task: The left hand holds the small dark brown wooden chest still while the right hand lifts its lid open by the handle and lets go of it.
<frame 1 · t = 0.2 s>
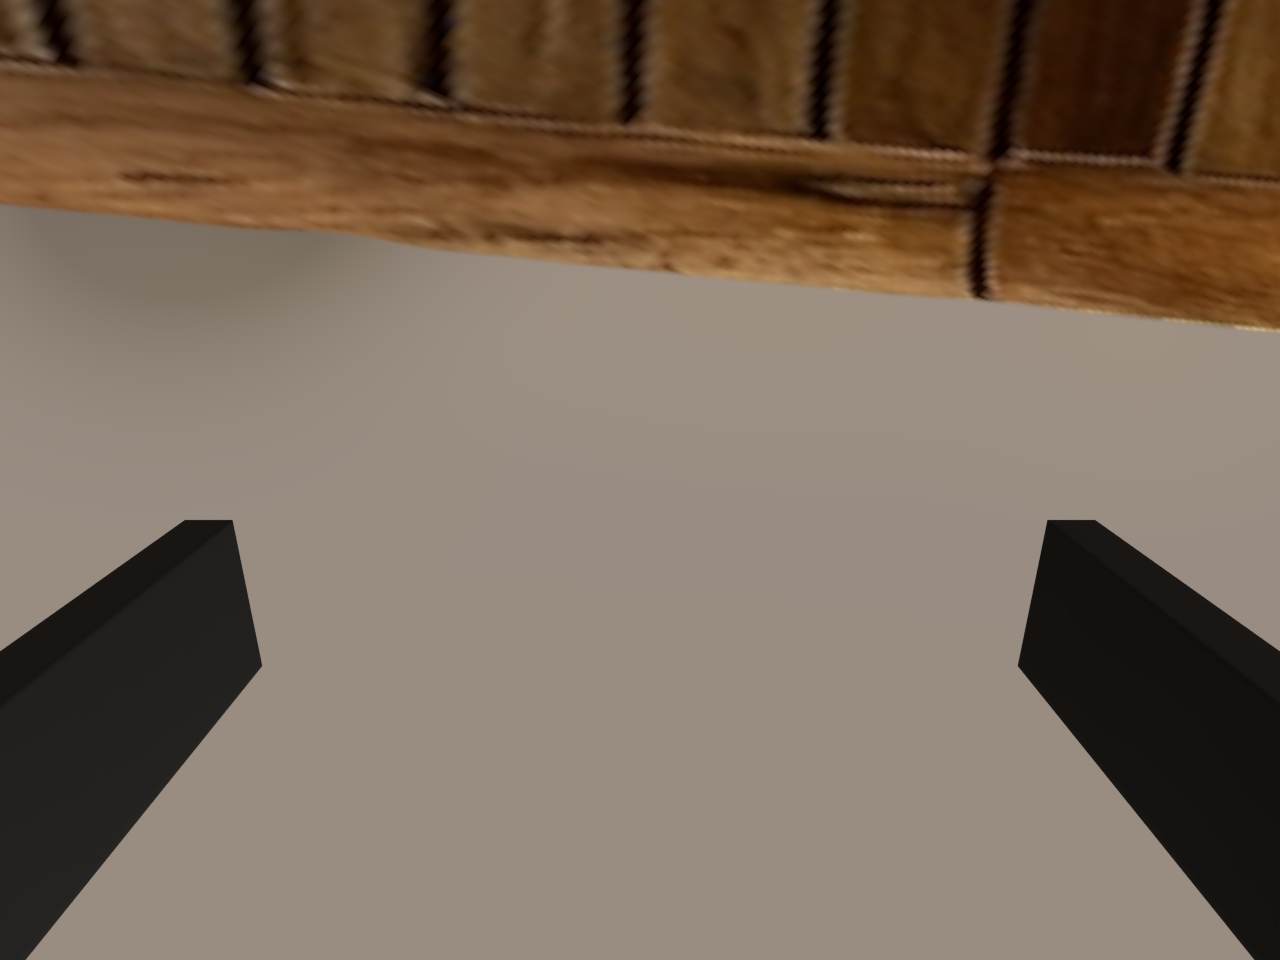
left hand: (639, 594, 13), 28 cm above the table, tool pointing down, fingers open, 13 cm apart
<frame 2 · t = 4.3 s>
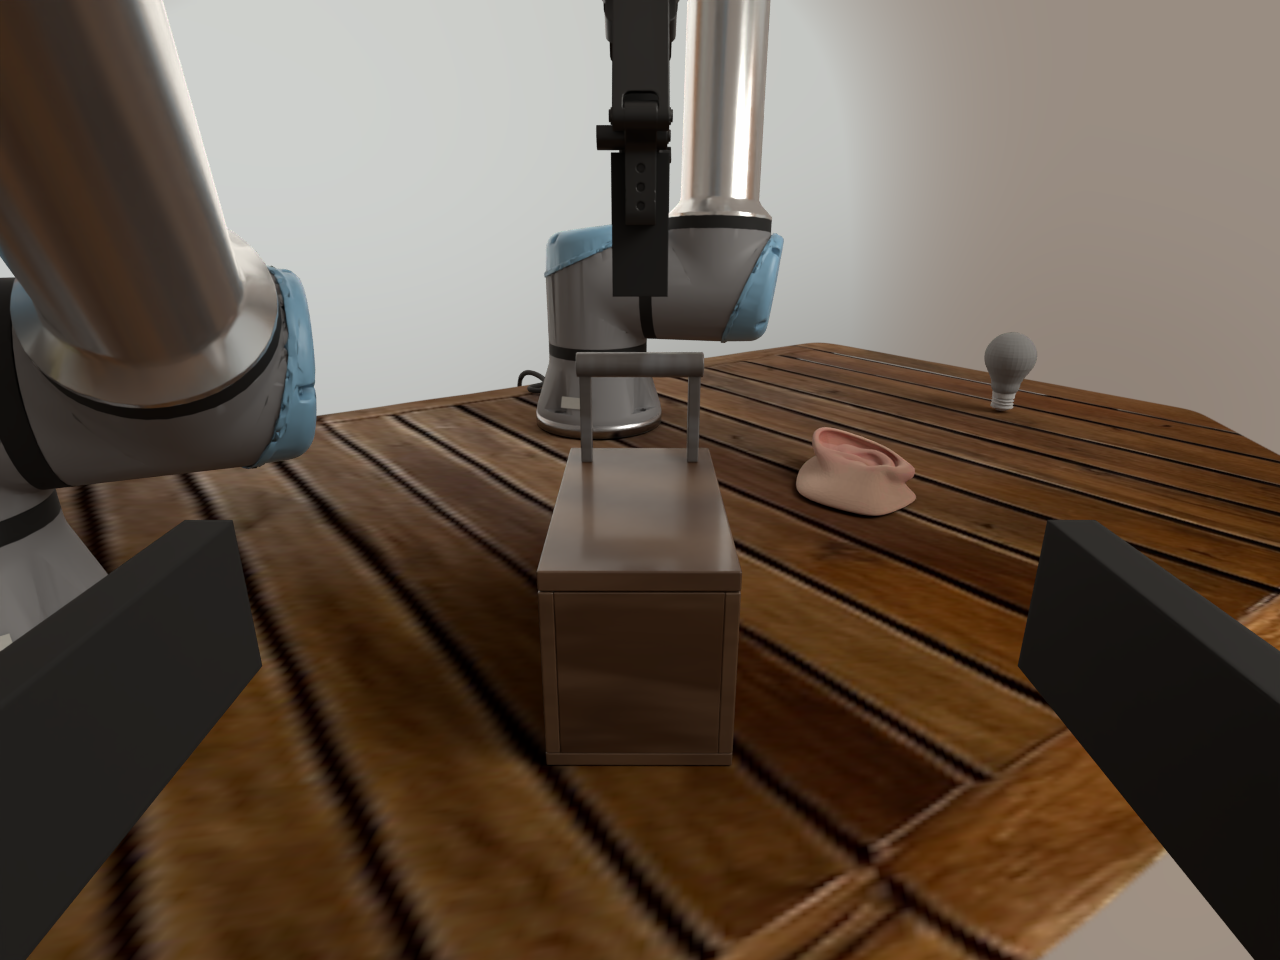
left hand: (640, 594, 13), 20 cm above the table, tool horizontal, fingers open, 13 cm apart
lid: (639, 447, 41), point 14 cm above the table, hinge at 0.0°
light bulb: (1000, 411, 99), on the table
chest: (639, 664, 46), on the table
anatomical model: (853, 489, 73), on the table
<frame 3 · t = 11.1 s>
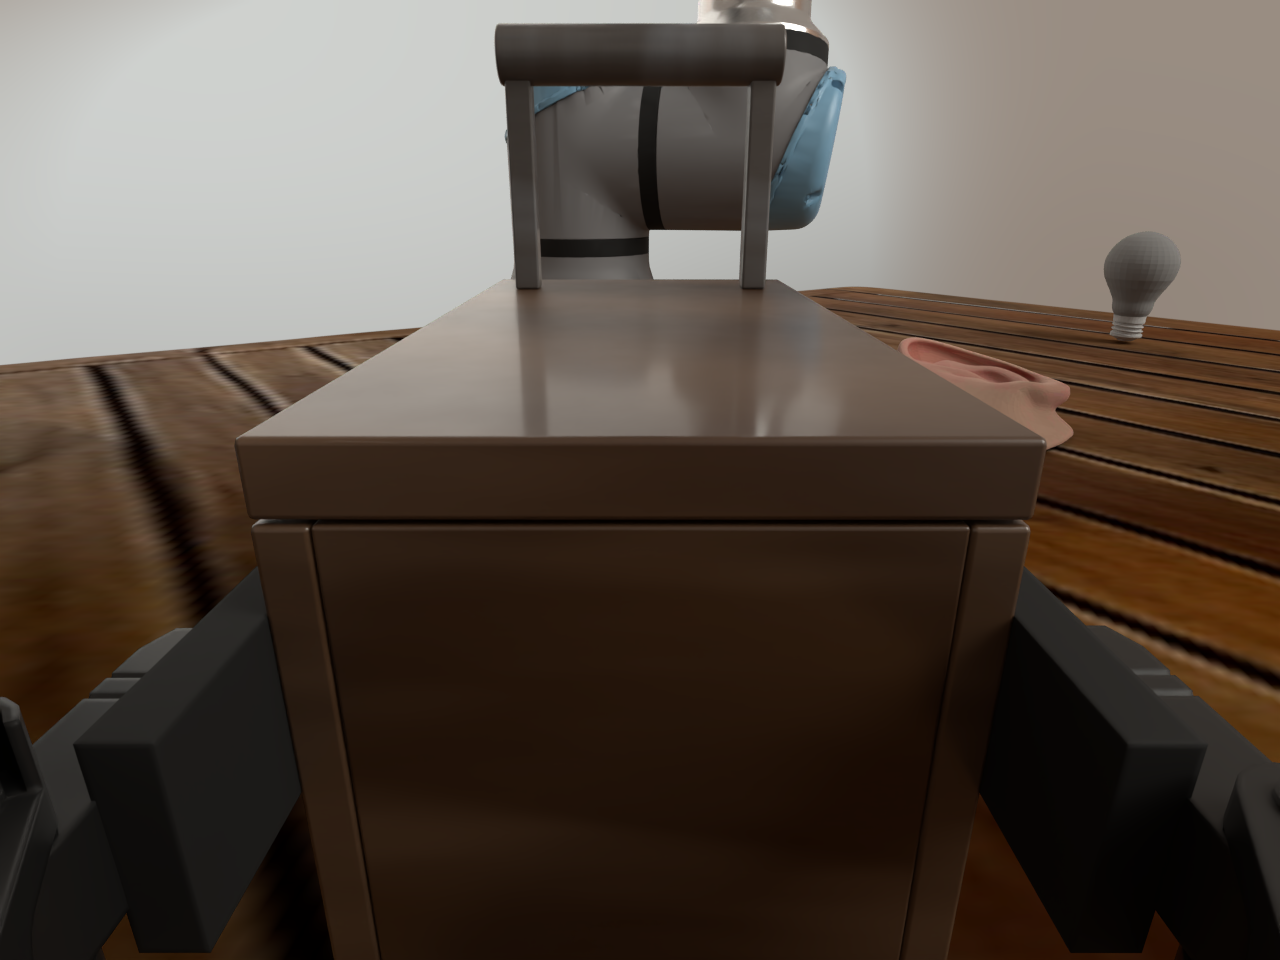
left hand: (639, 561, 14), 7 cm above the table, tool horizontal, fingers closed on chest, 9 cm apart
lid: (640, 177, 16), point 14 cm above the table, hinge at 0.0°
light bulb: (1124, 342, 74), on the table
chest: (640, 726, 20), on the table, touching left hand
anatomical model: (966, 423, 47), on the table
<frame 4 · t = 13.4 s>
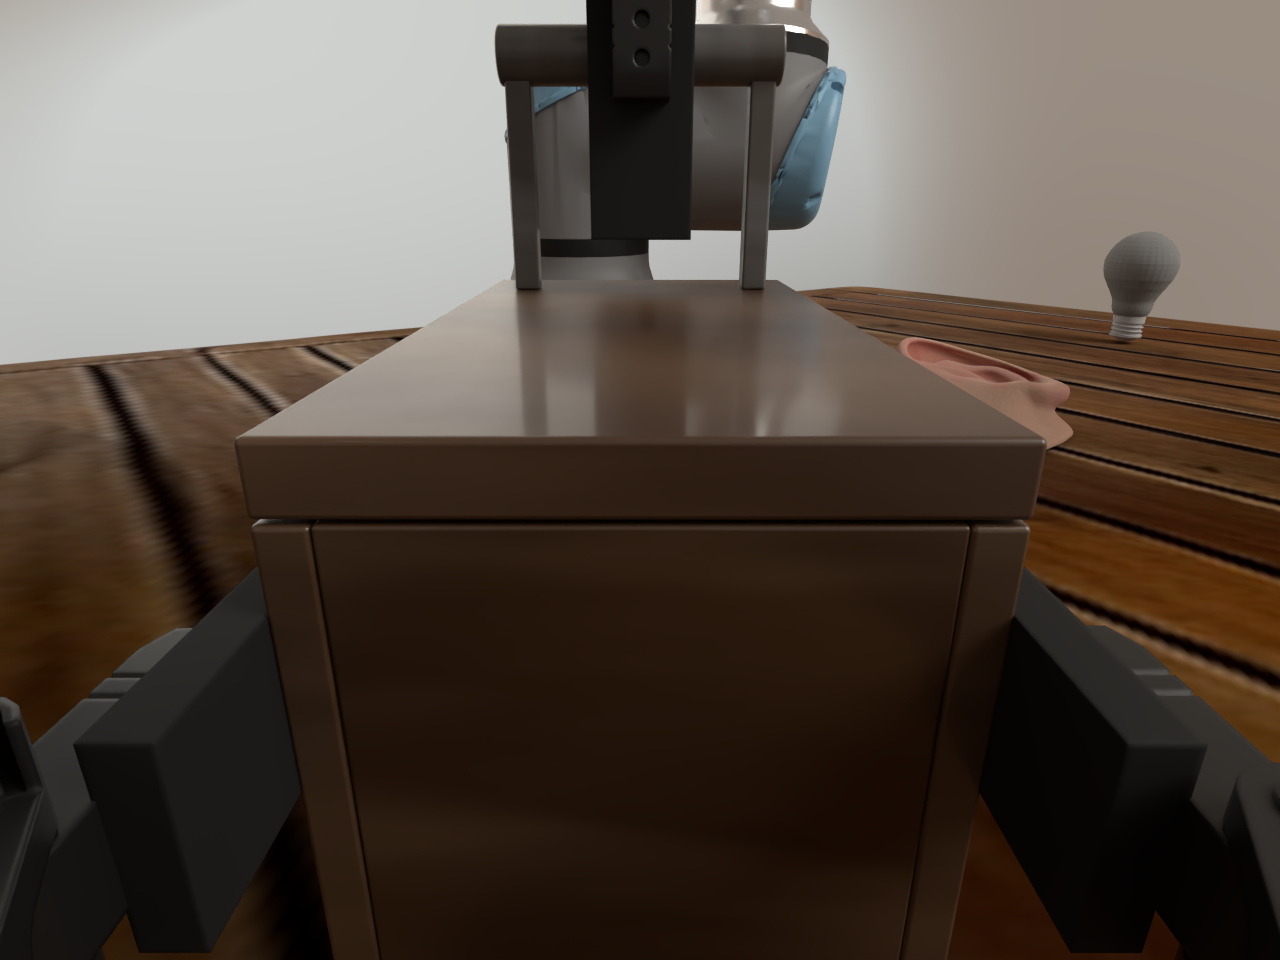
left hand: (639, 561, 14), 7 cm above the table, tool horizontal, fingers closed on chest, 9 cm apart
lid: (640, 177, 16), point 14 cm above the table, hinge at -0.1°, touching right hand
light bulb: (1123, 342, 74), on the table
chest: (640, 726, 20), on the table, touching left hand
anatomical model: (966, 422, 47), on the table
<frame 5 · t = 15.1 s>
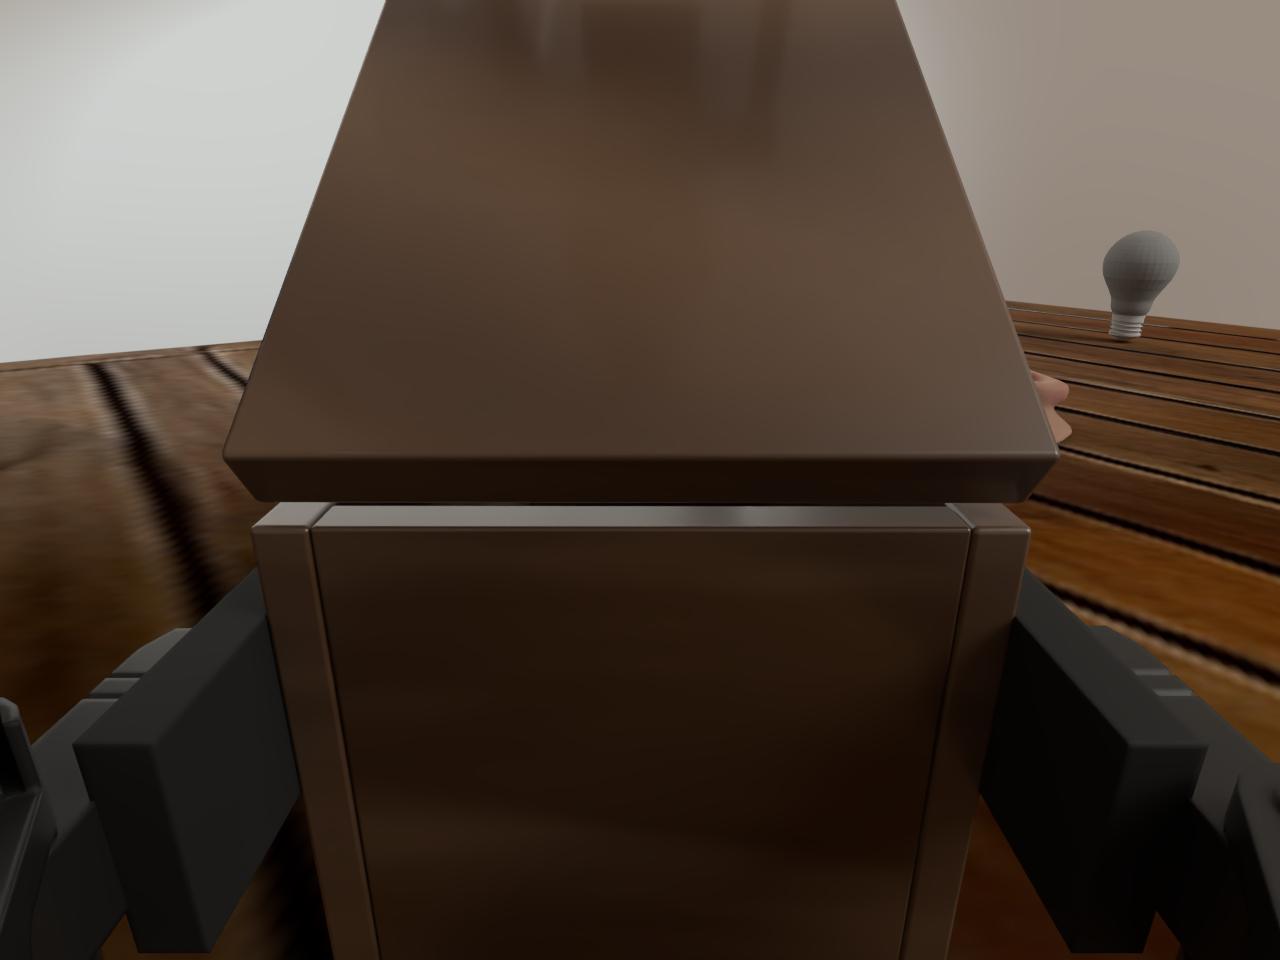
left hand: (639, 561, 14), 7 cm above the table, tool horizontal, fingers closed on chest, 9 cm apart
light bulb: (1122, 341, 74), on the table
chest: (639, 725, 20), on the table, touching left hand
anatomical model: (965, 421, 48), on the table
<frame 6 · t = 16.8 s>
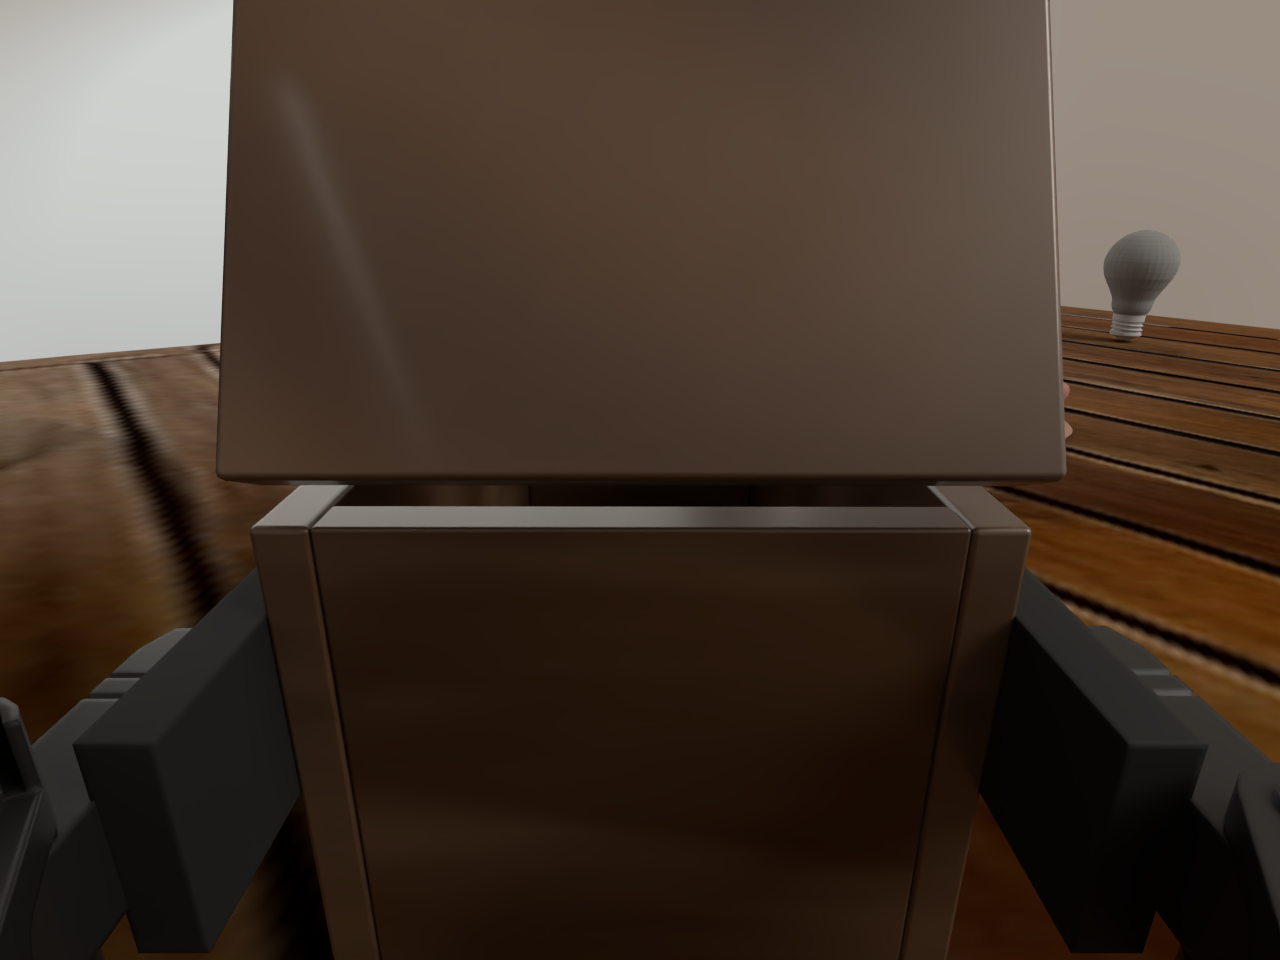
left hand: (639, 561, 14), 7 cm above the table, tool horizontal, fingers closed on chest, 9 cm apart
light bulb: (1123, 340, 74), on the table
chest: (639, 724, 20), on the table, touching left hand
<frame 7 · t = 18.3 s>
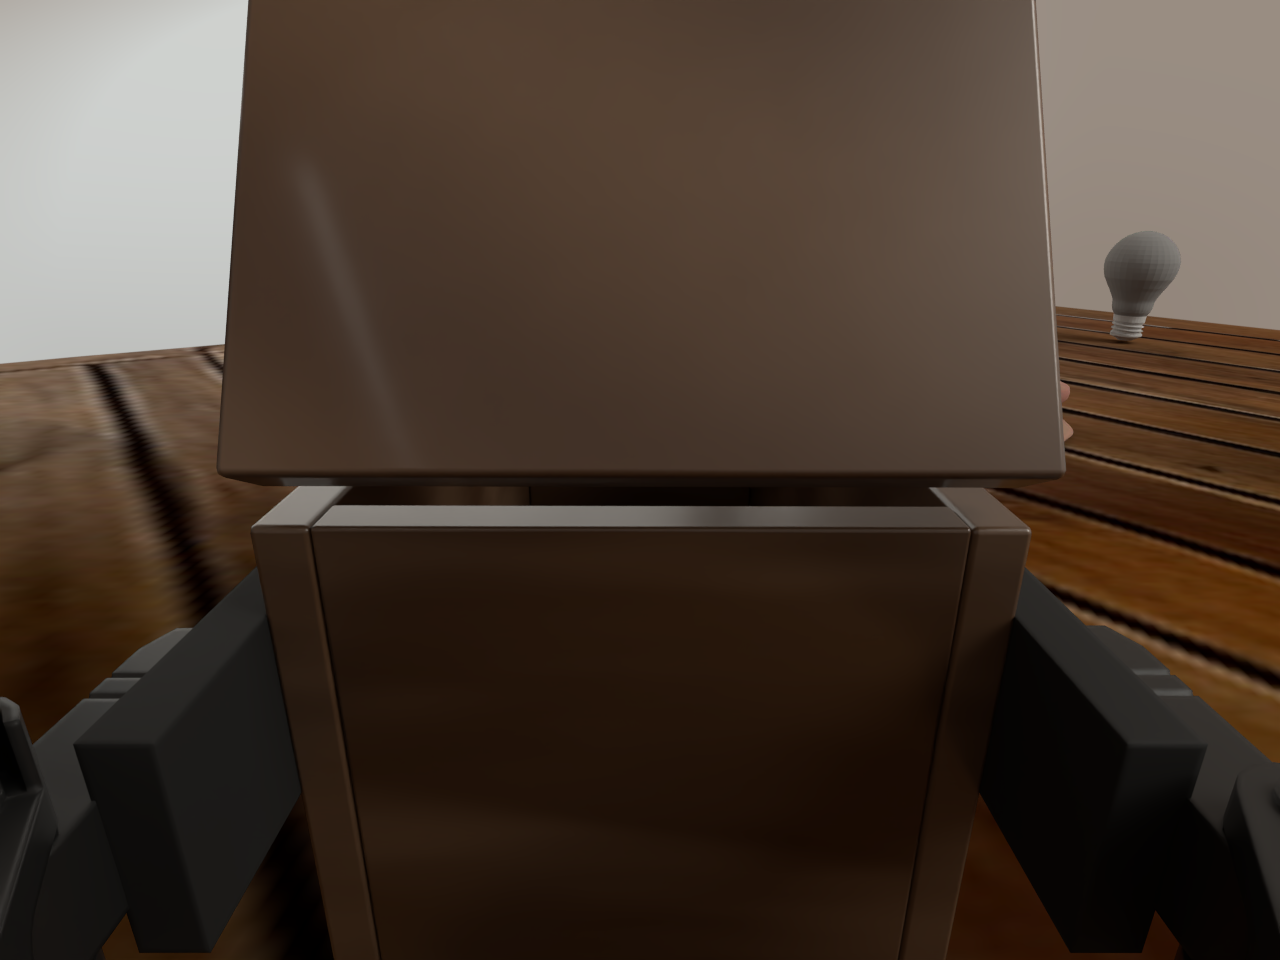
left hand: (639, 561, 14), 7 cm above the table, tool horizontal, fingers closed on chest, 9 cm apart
light bulb: (1124, 341, 74), on the table
chest: (639, 724, 20), on the table, touching left hand
when the left hand's fingers open (7 cm above the table, at t = 20.5 s): chest stays where it is, on the table.
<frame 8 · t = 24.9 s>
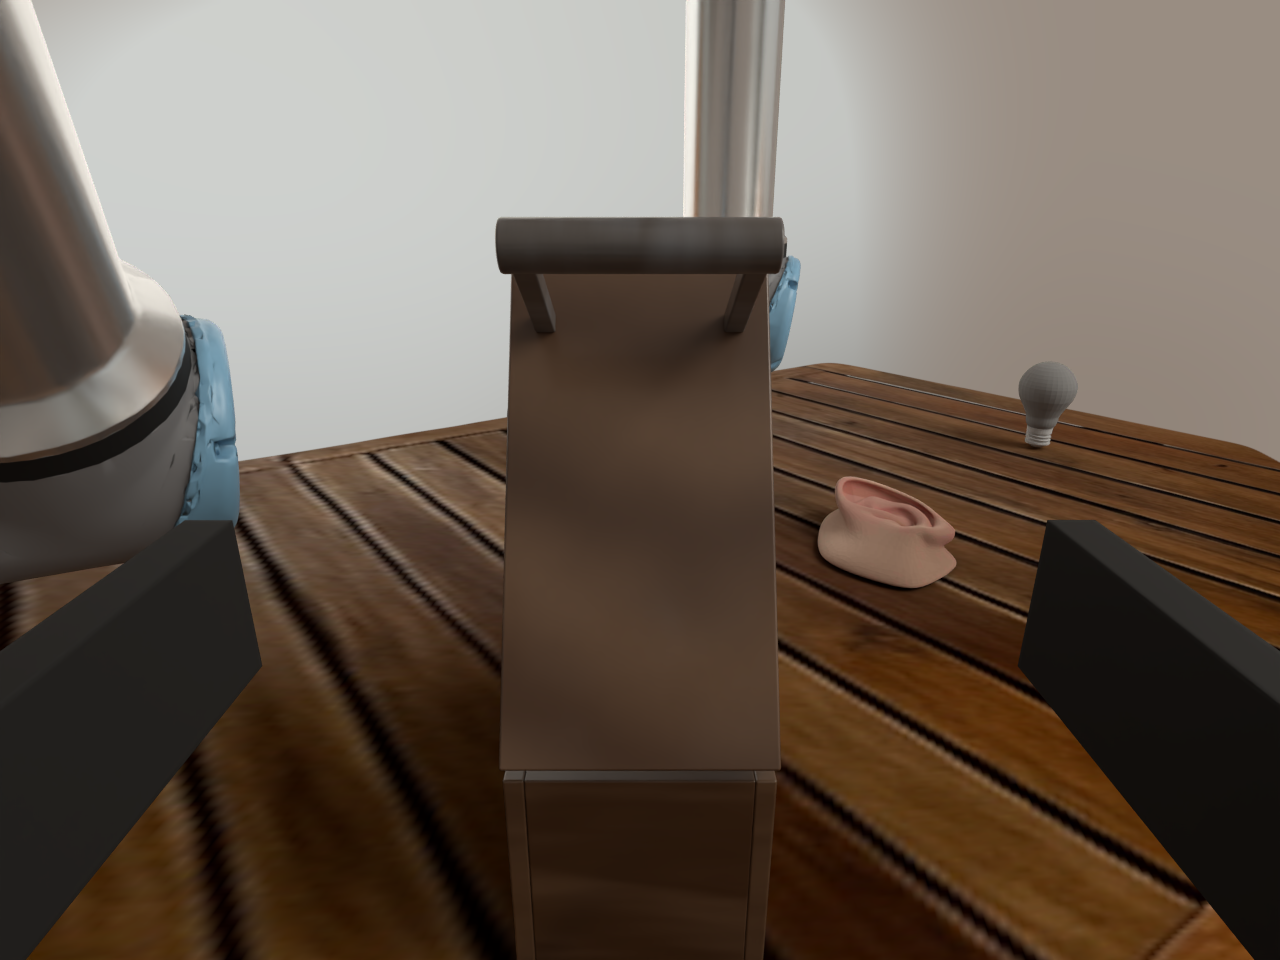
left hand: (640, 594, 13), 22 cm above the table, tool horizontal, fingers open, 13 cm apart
lid: (639, 487, 23), point 20 cm above the table, hinge at 61.5°
light bulb: (1036, 447, 90), on the table
chest: (639, 812, 37), on the table
anatomical model: (882, 550, 64), on the table
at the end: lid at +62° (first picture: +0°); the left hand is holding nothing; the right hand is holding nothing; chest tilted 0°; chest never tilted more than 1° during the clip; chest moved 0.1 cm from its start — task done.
